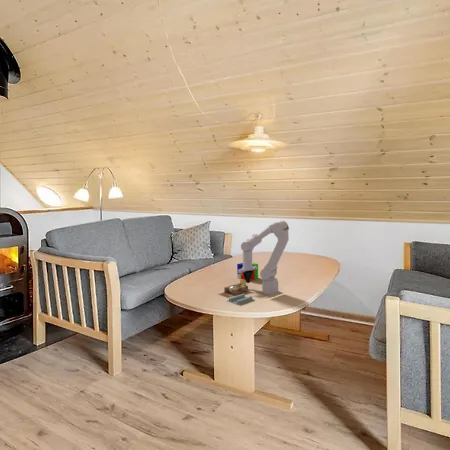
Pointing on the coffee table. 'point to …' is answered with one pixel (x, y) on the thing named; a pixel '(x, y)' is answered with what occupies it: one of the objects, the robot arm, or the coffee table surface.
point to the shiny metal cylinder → (233, 288)
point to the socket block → (234, 291)
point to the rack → (240, 299)
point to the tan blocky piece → (242, 282)
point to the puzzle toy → (255, 271)
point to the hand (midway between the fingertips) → (247, 282)
